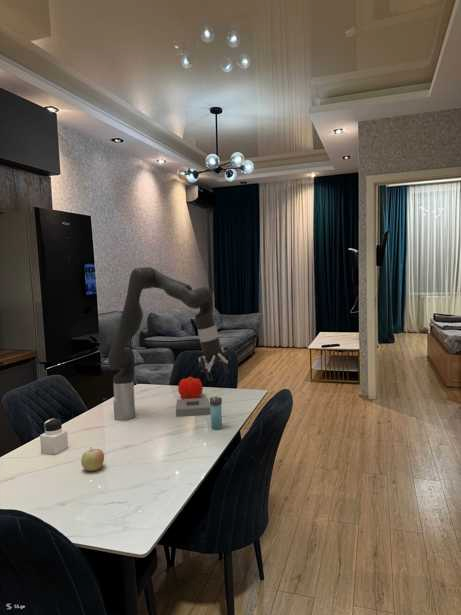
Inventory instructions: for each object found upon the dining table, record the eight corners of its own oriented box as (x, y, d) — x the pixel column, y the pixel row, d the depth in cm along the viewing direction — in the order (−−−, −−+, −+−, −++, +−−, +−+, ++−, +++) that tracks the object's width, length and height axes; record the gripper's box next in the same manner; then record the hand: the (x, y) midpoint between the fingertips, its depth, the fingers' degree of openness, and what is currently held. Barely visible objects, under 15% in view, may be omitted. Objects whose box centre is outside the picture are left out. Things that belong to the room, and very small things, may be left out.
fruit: (92, 475, 142) (90, 452, 141) (77, 471, 146) (76, 448, 145) (109, 466, 148) (108, 444, 147) (95, 462, 152) (94, 440, 151)
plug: (211, 430, 179) (209, 399, 178) (210, 426, 184) (209, 395, 183) (223, 429, 179) (222, 398, 178) (222, 425, 185) (221, 395, 184)
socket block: (176, 416, 198) (175, 409, 198) (177, 406, 214) (176, 399, 214) (210, 414, 199) (209, 407, 199) (208, 404, 215) (208, 397, 215)
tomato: (201, 401, 221) (201, 381, 221) (176, 401, 222) (176, 382, 221) (203, 393, 235) (203, 375, 234) (180, 394, 235) (179, 375, 234)
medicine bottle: (68, 447, 166) (66, 418, 165) (55, 455, 159) (53, 424, 158) (54, 445, 168) (52, 416, 167) (40, 453, 162) (38, 422, 161)
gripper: (217, 332, 174) (226, 369, 176) (189, 343, 165) (199, 382, 167) (228, 332, 168) (237, 370, 170) (200, 344, 159) (210, 384, 161)
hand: (218, 376), depth 169 cm, fingers open, 8 cm apart
